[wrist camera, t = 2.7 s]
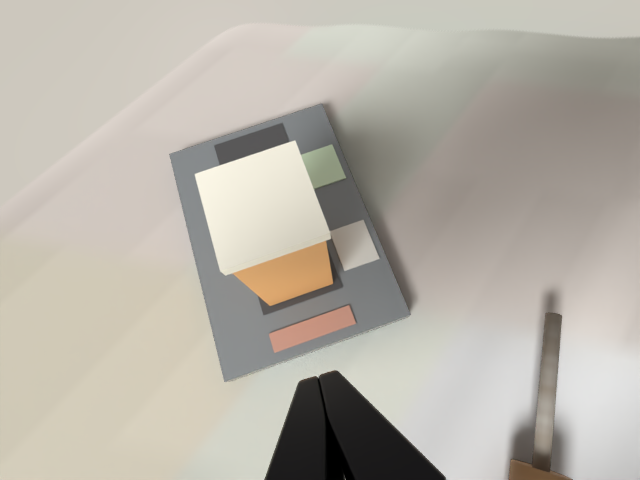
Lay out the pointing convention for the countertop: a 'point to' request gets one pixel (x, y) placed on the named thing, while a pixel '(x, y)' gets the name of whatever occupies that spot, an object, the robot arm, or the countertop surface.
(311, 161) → the switch board
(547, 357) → the wooden handled tool
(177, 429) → the countertop surface
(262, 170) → the lidded box
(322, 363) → the countertop surface
